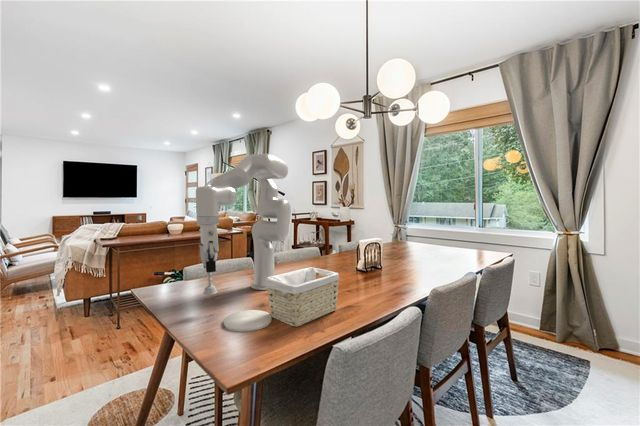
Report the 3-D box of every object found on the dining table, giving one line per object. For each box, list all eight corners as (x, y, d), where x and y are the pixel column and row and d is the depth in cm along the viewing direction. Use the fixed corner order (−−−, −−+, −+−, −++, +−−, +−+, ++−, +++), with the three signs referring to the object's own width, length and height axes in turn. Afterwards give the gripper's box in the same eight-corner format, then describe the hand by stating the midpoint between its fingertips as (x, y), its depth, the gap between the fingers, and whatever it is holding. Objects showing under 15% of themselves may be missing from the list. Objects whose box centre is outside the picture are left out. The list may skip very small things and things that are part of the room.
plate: (263, 310, 117) (263, 307, 117) (278, 325, 103) (278, 322, 103) (219, 317, 110) (219, 314, 110) (229, 335, 96) (229, 332, 96)
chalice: (203, 289, 117) (202, 242, 115) (222, 288, 117) (220, 242, 116) (197, 296, 109) (195, 246, 108) (217, 295, 110) (215, 245, 109)
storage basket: (294, 330, 100) (294, 285, 99) (263, 317, 111) (263, 276, 110) (340, 311, 117) (341, 272, 117) (310, 301, 128) (310, 266, 128)
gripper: (223, 222, 105) (224, 274, 107) (214, 218, 121) (216, 263, 122) (199, 223, 102) (201, 277, 103) (194, 219, 117) (195, 265, 119)
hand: (209, 269), depth 113 cm, fingers closed on chalice, 6 cm apart
